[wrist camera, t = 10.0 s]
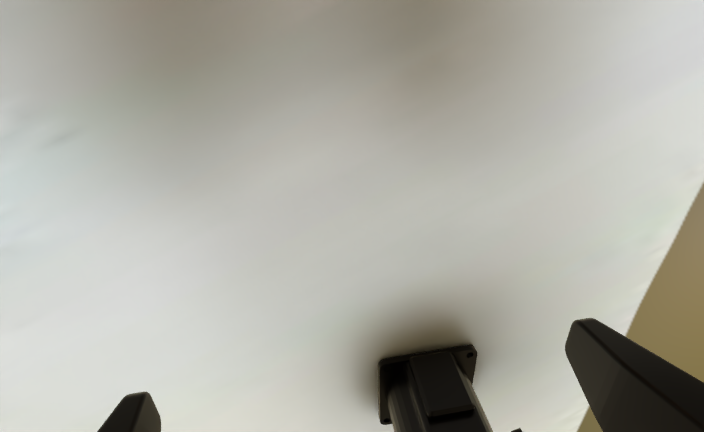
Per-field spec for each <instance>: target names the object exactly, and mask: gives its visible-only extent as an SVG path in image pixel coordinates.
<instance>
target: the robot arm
mask: <svg viewBox="0 0 704 432" xmlns="http://www.w3.org/2000/svg"><path fill="white" fill-rule="evenodd" d="M565 351H566V355H567V358H568V360H569V362H570V364H571V366H572V368H573V371H574V373H575V375H576V377H577V379H578V381H579V384H580V386H581V388H582V390H583V392H584V394H585V396H586V399H587V401H588V403H589V405H590V407H591V409H592V411H593V413H594V415H595V418H596V420H597V421H598V423H599V425H600V427H601V429H602V430H603V432H704V383H703V382H701V381H700V380H698V379H696V378H695V377H693V376H691V375H690V374H688V373H686V372H684V371H683V370H681V369H679V368H677V367H676V366H674V365H673V364H671V363H669V362H667V361H666V360H664V359H662V358H661V357H659V356H657V355H655V354H654V353H652V352H650V351H649V350H647V349H645V348H643V347H642V346H640V345H638V344H637V343H635V342H633V341H632V340H630V339H628V338H627V337H625V336H623V335H622V334H620V333H618V332H616V331H615V330H613V329H611V328H610V327H608V326H606V325H604V324H603V323H601V322H599V321H598V320H596V319H593V318H586V319H580V320H575V321H574V322H573V323H572V325H571V328H570V331H569V334H568V338H567V341H566V344H565ZM476 358H477V351H476V349H475V347H474V346H473V345H465V346H459V347H453V348H447V349H441V350H435V351H429V352H423V353H417V354H411V355H405V356H399V357H393V358H387V359H383V360H381V361H380V362H379V364H378V391H379V419H380V423H381V424H383V425H387V424H393V428H394V432H493V431H492V428H491V426H490V424H489V422H488V420H487V417H486V415H485V413H484V411H483V409H482V406H481V404H480V402H479V400H478V398H477V395H476V393H475V391H474V389H473V387H472V383H473V377H474V371H475V364H476ZM98 432H161V419H160V415H159V413H158V411H157V408H156V406H155V404H154V402H153V400H152V397H151V395H150V394H149V393H148V392H139V393H133V394H129V395H127V396H125V397H124V398H123V399H122V400H121V402H120V403H119V404H118V405H117V407H116V408H115V409H114V411H113V412H112V413H111V415H110V416H109V417H108V419H107V420H106V421H105V423H104V424H103V425H102V426H101V428H100V429H99V430H98ZM511 432H522V430H521V429H520V428H519V429H516V430H513V431H511Z"/></svg>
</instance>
